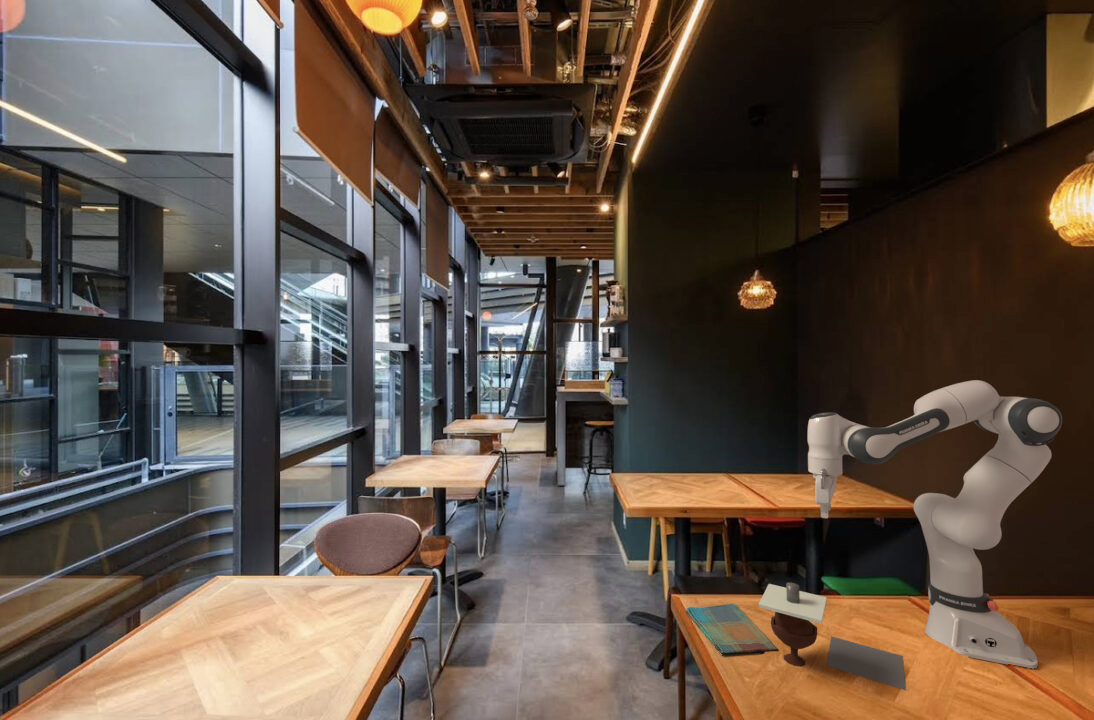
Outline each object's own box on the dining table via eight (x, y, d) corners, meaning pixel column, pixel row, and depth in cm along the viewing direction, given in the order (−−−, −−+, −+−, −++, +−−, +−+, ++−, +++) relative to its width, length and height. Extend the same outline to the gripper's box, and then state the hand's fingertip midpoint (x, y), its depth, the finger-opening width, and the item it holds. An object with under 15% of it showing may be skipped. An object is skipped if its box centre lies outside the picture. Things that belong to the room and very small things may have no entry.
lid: (826, 600, 122) (826, 582, 122) (821, 623, 111) (821, 603, 111) (768, 586, 130) (768, 569, 130) (758, 607, 119) (758, 588, 119)
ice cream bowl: (826, 677, 114) (824, 616, 114) (777, 672, 116) (775, 611, 116) (810, 652, 124) (809, 595, 124) (766, 647, 126) (764, 592, 127)
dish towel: (736, 610, 147) (736, 602, 147) (781, 654, 124) (781, 645, 124) (684, 613, 146) (684, 605, 146) (720, 659, 122) (720, 649, 122)
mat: (902, 657, 121) (902, 655, 121) (905, 692, 108) (905, 690, 108) (831, 637, 131) (831, 636, 131) (826, 667, 117) (826, 665, 118)
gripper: (834, 474, 128) (836, 524, 127) (839, 462, 144) (840, 507, 144) (808, 471, 132) (810, 520, 131) (816, 460, 148) (817, 503, 148)
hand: (826, 513), depth 138 cm, fingers open, 8 cm apart
